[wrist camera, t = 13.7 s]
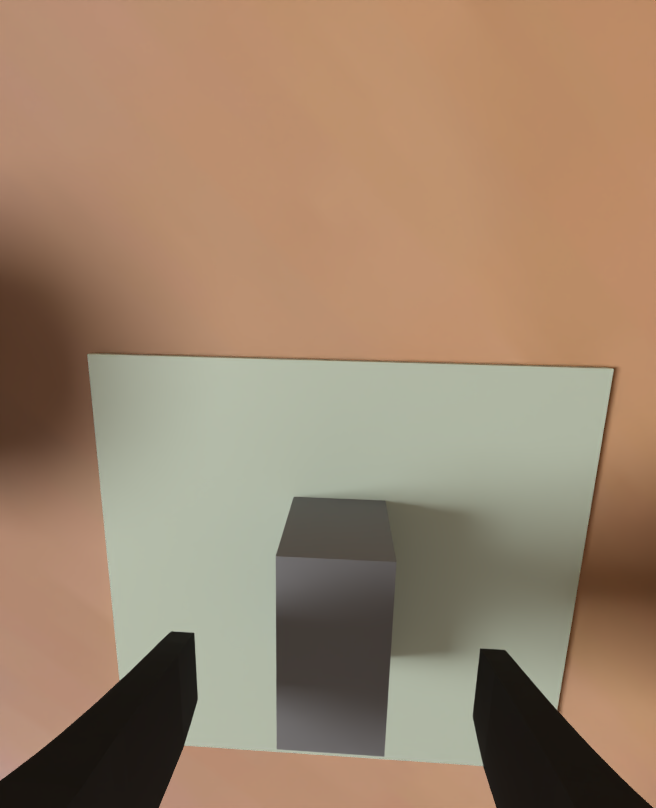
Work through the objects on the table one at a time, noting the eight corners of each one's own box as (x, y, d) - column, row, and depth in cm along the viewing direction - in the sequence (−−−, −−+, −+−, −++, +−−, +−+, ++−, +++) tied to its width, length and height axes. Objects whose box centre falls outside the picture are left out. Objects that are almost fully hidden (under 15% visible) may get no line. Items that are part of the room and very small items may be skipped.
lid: (535, 744, 17) (600, 895, 13) (137, 717, 18) (68, 851, 13) (595, 364, 14) (709, 390, 9) (104, 351, 15) (-2, 369, 10)
